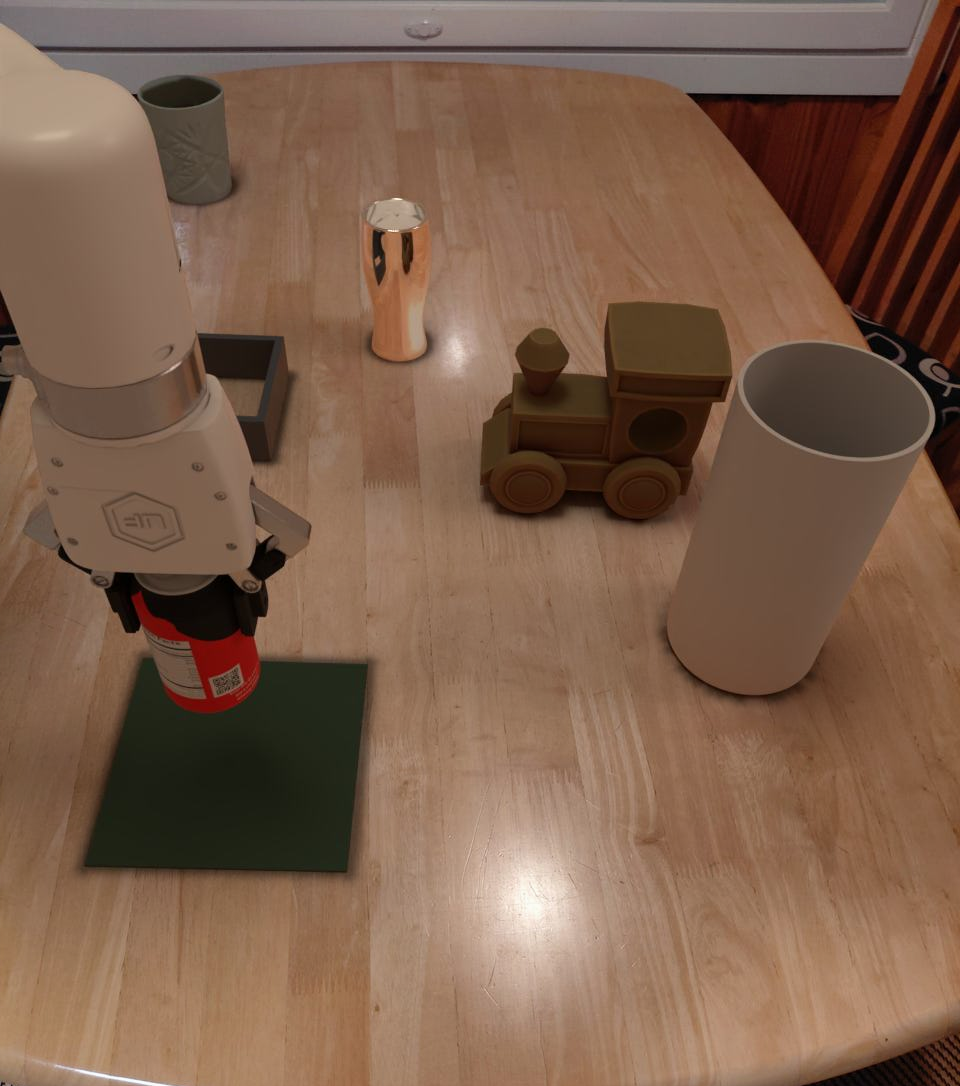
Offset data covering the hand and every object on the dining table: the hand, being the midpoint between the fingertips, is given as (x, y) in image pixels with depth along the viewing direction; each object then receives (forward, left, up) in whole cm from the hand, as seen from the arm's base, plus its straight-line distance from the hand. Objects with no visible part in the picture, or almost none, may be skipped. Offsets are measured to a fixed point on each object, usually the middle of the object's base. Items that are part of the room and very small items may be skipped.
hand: (194, 615), depth 59 cm
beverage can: (0, 0, -7) cm, 7 cm away
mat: (0, 0, -17) cm, 17 cm away
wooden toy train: (+28, +32, -17) cm, 46 cm away
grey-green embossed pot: (-19, +86, -17) cm, 90 cm away
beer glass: (+9, +53, -17) cm, 56 cm away
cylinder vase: (+40, +13, -17) cm, 45 cm away
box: (-9, +40, -17) cm, 44 cm away
